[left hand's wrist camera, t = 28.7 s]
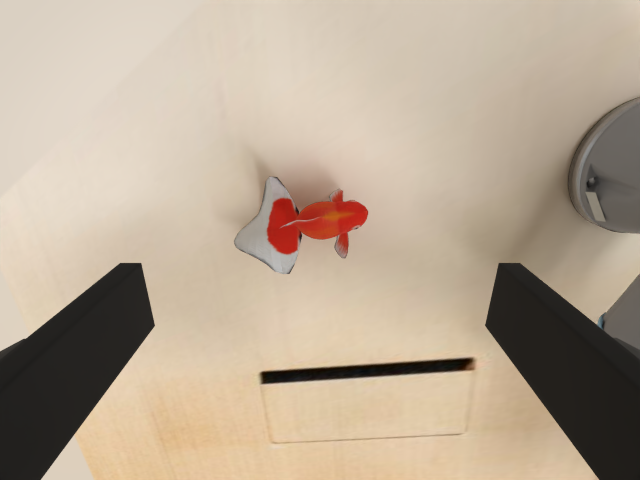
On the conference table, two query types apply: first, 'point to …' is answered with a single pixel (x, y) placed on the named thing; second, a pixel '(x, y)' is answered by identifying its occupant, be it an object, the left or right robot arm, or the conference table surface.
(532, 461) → the conference table surface
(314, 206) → the fish
